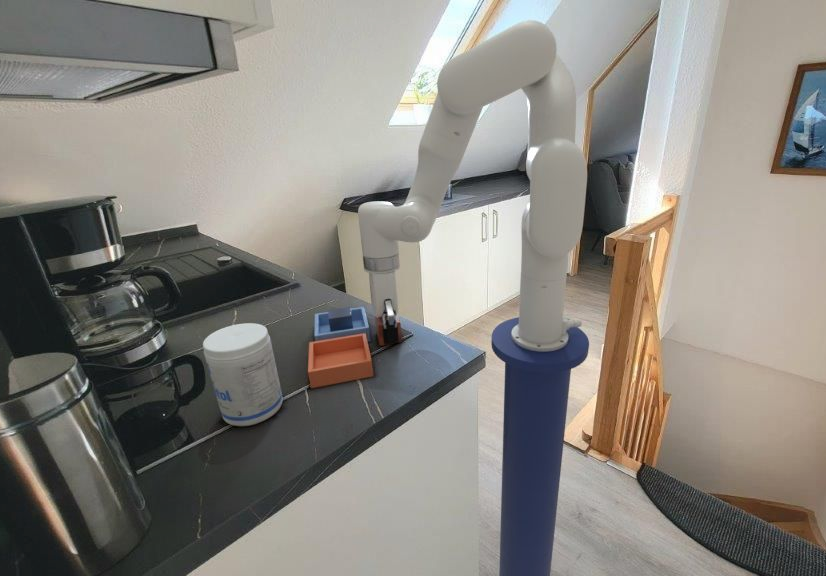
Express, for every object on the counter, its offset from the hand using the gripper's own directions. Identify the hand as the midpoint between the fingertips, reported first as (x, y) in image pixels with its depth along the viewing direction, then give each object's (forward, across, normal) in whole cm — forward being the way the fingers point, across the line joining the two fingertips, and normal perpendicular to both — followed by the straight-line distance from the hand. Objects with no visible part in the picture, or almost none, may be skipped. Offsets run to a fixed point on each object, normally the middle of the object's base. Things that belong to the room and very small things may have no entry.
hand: (388, 332), depth 92 cm
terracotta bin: (+2, +8, -11) cm, 14 cm away
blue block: (+1, -6, -10) cm, 12 cm away
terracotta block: (+2, 0, 0) cm, 2 cm away
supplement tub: (+2, +17, -26) cm, 31 cm away
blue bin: (+2, -6, -10) cm, 12 cm away
